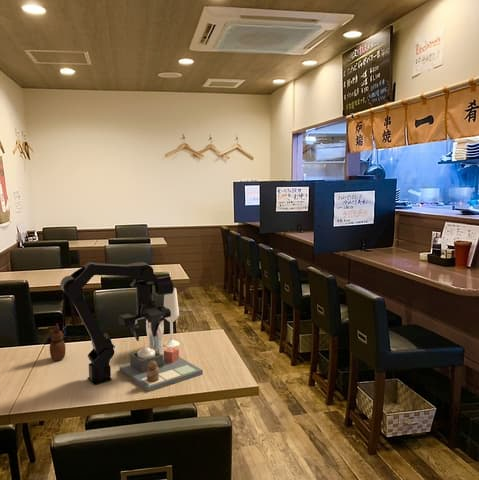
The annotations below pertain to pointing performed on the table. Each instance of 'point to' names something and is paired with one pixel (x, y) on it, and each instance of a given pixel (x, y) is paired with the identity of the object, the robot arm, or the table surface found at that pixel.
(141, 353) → the dome button
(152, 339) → the beer glass
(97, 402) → the table surface
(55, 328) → the wooden figurine
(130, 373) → the game board
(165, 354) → the red die
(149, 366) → the walnut pawn
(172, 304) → the champagne flute
